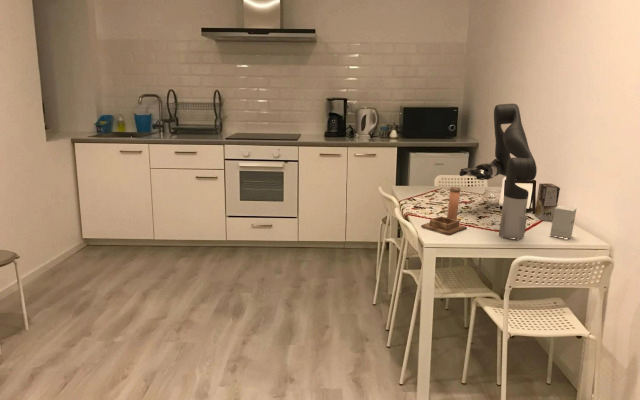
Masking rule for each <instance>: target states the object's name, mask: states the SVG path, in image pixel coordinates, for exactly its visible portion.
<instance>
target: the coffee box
mask: <svg viewBox="0 0 640 400" xmlns="http://www.w3.org/2000/svg"><path fill="white" fill-rule="evenodd" d="M560 190H561V187H560V186H557V185H555V184H553V183H540V182H539V183H538V190H537V197H536V204H535V211H534V216H535V217H537V218H538V219H539V220H540V221H542V222H543V221H544V222H553V216H554V210H555V208H556V207H557V206H558V201H559V195H560Z"/></svg>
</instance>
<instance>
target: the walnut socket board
mask: <svg viewBox="0 0 640 400" xmlns="http://www.w3.org/2000/svg"><path fill="white" fill-rule="evenodd" d="M420 228H421V229H426V230H429V231H432V232H435V233H439V234H443V235H446V236H452V235H454V234H457V233H460V232H463V231H465V230H467V228H468V227H467V226H466V225H465V226H464V225H462V224H460V220H458V219H457V220H454V219H450V218H447V216H446V217H445V216H443V215H441V216H438V217H435V218H431V219H430V220H429V222H426V223H423V224H421V225H420Z"/></svg>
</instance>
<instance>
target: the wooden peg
mask: <svg viewBox="0 0 640 400" xmlns="http://www.w3.org/2000/svg"><path fill="white" fill-rule="evenodd" d="M460 195H461V188H460V187H458V186H457V187H456V186H450V187H449V197H448V207H447V214H446V218H450V219H454V220H457V221H458V214H459V204H460V203H459V202H460Z"/></svg>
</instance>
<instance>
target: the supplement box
mask: <svg viewBox="0 0 640 400" xmlns="http://www.w3.org/2000/svg"><path fill="white" fill-rule="evenodd" d="M576 213H577V207H574V206H568V205H562V204H561V205H560V204H559V205H558V204H557V207H556V208H555V210H554V216H553V221H551V228H550V235H551V236H550V237H552V236H557V237H563V238H569V237H570V236H571V235H572V236H573V232H574V224H575V220H576ZM572 236H571V237H572ZM571 237H570V238H571ZM570 238H569V239H570Z"/></svg>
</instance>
